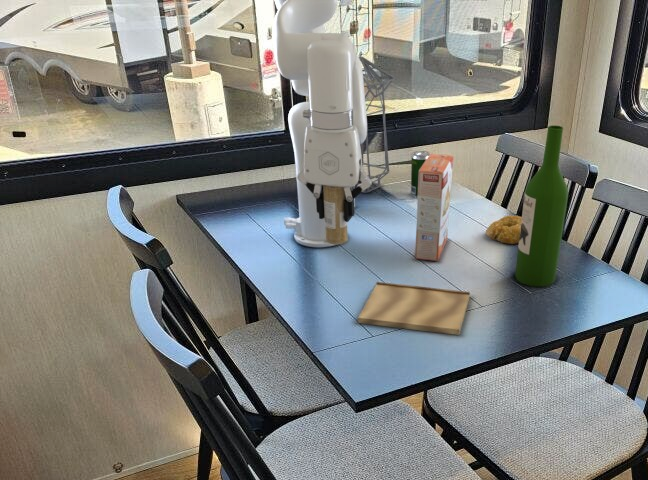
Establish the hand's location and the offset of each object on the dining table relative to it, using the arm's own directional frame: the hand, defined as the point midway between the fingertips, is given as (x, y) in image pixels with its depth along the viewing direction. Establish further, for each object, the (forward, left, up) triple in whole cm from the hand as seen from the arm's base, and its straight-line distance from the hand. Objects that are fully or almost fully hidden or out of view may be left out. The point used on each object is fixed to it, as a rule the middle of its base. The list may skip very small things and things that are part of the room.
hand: (335, 216), depth 131 cm
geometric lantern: (-14, +71, -18) cm, 74 cm away
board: (+16, 0, -18) cm, 24 cm away
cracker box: (+14, +31, -18) cm, 38 cm away
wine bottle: (+39, +21, -18) cm, 48 cm away
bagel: (+31, +43, -18) cm, 56 cm away
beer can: (+4, +68, -18) cm, 70 cm away
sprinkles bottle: (0, 0, -5) cm, 5 cm away
